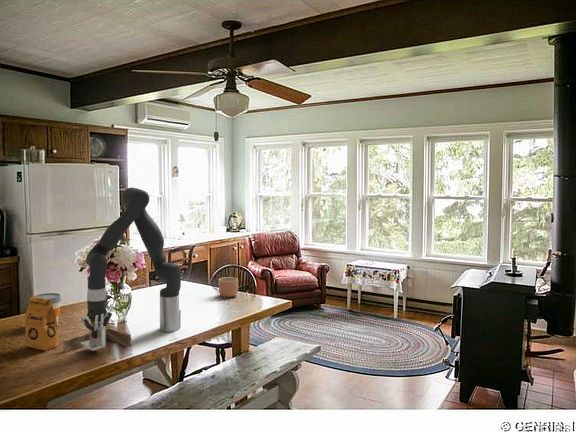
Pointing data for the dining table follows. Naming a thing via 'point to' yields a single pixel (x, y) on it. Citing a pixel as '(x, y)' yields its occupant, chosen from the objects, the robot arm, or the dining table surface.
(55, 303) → the reusable coffee cup
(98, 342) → the angle bracket
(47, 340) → the coffee package
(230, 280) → the planter
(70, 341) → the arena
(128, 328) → the dining table surface
